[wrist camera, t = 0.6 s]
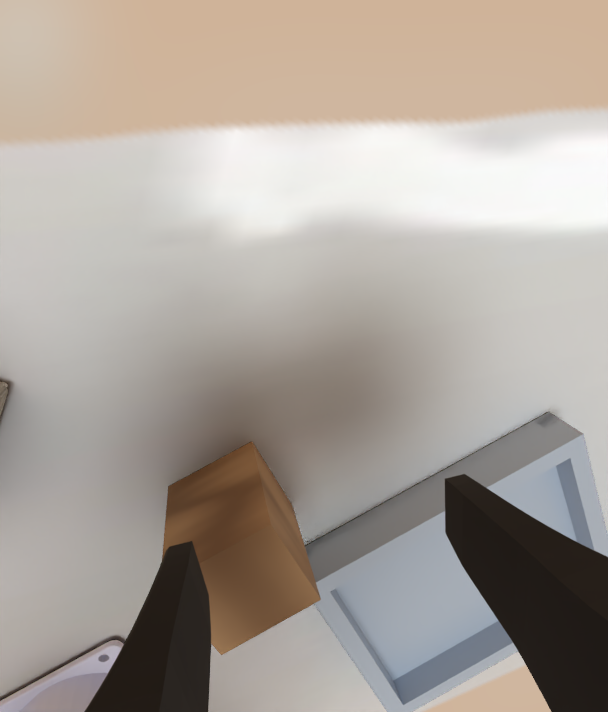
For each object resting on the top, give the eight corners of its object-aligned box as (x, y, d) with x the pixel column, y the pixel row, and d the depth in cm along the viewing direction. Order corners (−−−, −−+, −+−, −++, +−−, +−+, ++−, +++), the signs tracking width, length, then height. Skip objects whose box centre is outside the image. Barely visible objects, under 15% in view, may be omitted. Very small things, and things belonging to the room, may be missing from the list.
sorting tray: (378, 681, 30) (394, 722, 28) (293, 552, 25) (303, 589, 23) (589, 561, 31) (621, 592, 29) (548, 411, 26) (583, 434, 23)
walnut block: (215, 547, 24) (221, 654, 18) (168, 485, 22) (160, 584, 17) (292, 505, 24) (321, 599, 19) (251, 440, 22) (270, 524, 17)
